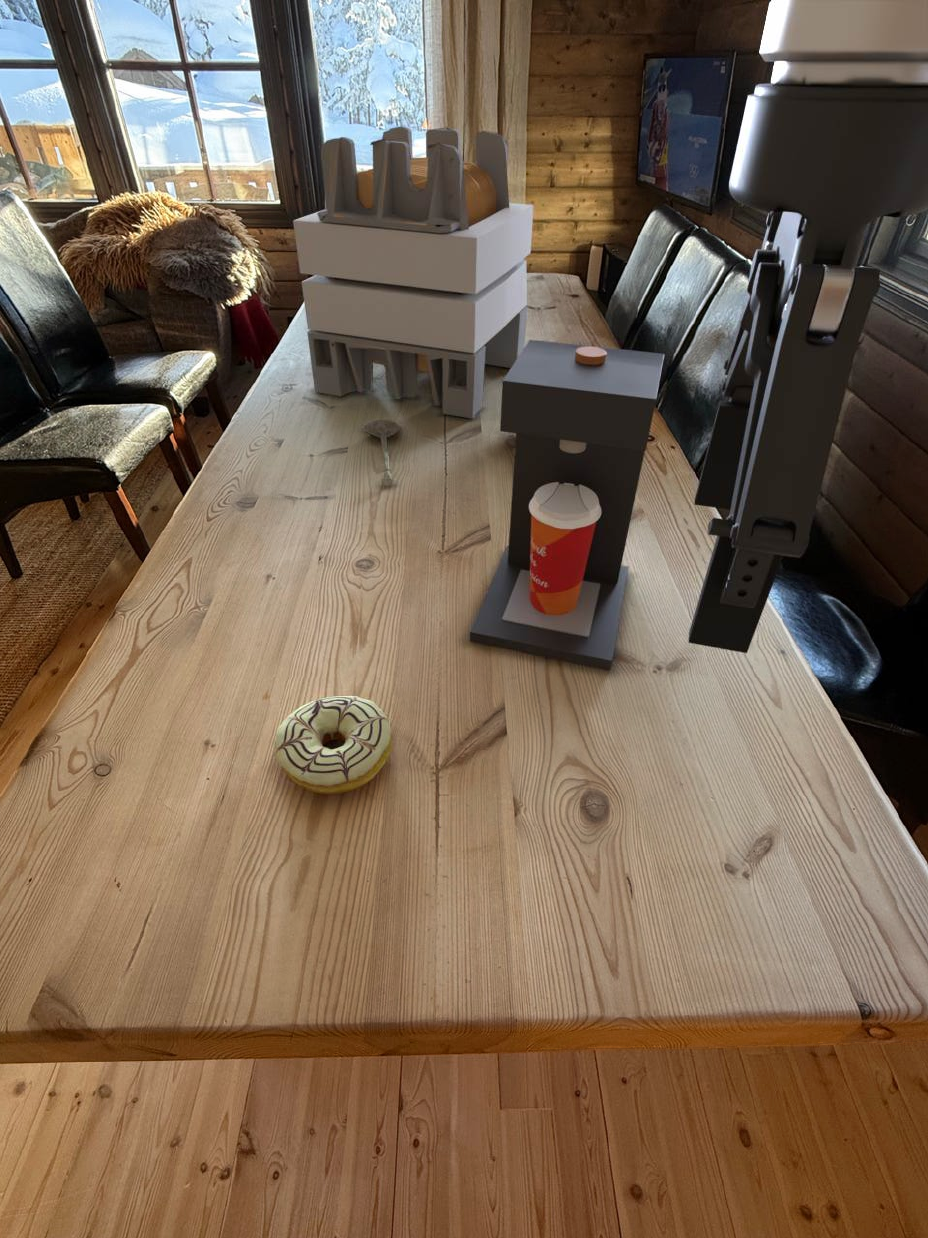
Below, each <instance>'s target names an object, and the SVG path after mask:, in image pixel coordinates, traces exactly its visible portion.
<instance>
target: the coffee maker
mask: <svg viewBox="0 0 928 1238" xmlns="http://www.w3.org/2000/svg"><path fill="white" fill-rule="evenodd" d="M664 359H665V353H657V352H649V351H639V350H630V349H621V348H610V347H604V346H603V347H601V346H594V345H593V346H592V345H583V344H574V343H573V344H572V343H563V342H554V341H545V340H537V339H536V340H535V339H529V340H528V341H527V343H526V344H525V345H524V349H523V351H522V352H521V354H520V355H519V357H518V358H517V360H516V361H515V363H514V364H513V366H512V367H511V368H509V371H508V372H507V373H506V375H505V376H504V377H503V379H502V381H501V401H500V402H501V405H500V424H499V432H502V433H509V434H512V433H516V437H515V442H514V443H515V444H514V459H513V461H514V462H513V474H512V489H511V490H512V491H511V505H510V507H511V508H510V520H509V533H508V534H509V535H508V536H509V537H508V545H506V547H505V550H504V552H503V554H502V556H501V558H500V561H499V563H498V565H497V568H496V570H495V572H494V575H493V577H492V580H491V582H490V585H489V586H488V589H487V591H486V594H485V596H484V599H483V601H482V602H481V604H480V607H479V610H478V612H477V614H476V617H475V620H474V622H473V625H472V626H471V628H470V631H469V643H475V644H480V645H485V646H489V647H495V648H498V649H503V650H508V651H509V650H510V651H513V652H518V653H522V654H529V655H533V656H538V657H543V658H547V659H551V660H552V659H553V660H557V661H562V662H567V663H572V664H578V665H580V666H587V667H590V668H595V669H599V670H600V669H601V670H605V671H611V668H612V666H613V665H612V664H613V660H614V653H615V649H616V642H617V637H618V631H619V625H620V620H621V613H622V610H623V609H622V608H623V603H624V597H625V590H626V585H627V580H628V573H629V568H630V567H629V566H628V565H624V564H622V563H623V559H624V554H625V548H626V544H627V540H628V535H629V530H630V526H631V525H630V524H631V521H632V520H631V519H632V515H633V510H634V505H635V501H636V496H637V492H638V486H639V481H640V477H641V473H642V472H641V471H642V466H643V462H644V457H645V452H646V451H647V446H648V442H649V437H650V432H651V428H652V422H653V418H654V414H655V413H654V412H655V408H656V403H657V398H658V393H659V392H658V391H659V387H660V381H661V377H662V376H661V375H662V369H663V365H664ZM554 482H559V484H564V483H570V484H574V486H578V488H579V484H580V485H583V486H585V487H587V488H589V489H591V490H592V491H593V492H594V493H595V494H596V495H597V497H598V500H599V505H600V507H601V516H600V518H599V519H598V520H597V521H596V525H595V530H594V534H593V538H592V542H591V547H590V551H589V555H588V559H587V564H586V568H585V572H584V576H583V580H582V584H581V589H580V593H579V596H578V600H577V603H576V606H575V608H574V609H573V610H572V611H571V612H569V613H567V614H563V615H548V614H544V613H542V612H540V611H538V610H536V609H535V608H534V607H533V606H532V604H531V602H530V552H531V513H530V510H529V503H530V501H531V499H532V498H533V497H534V494H535V492H536V491H537V490H538V489H539V488H540V487H542V486H544V485H546V484H549V483H554Z"/></svg>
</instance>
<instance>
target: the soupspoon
mask: <svg viewBox="0 0 928 1238" xmlns="http://www.w3.org/2000/svg"><path fill="white" fill-rule="evenodd" d="M401 428H402V427H401V424H399V423H397V422H396V421H393V420H389V419H376V420H373V421H370V422H368V423H367V424H365V425H363V427H362V430H363V431H364V432H367V433H369V434H370V435H373V436H375V437H377V438H379V439H380V443H381V449H382V454H383V461H384V463H383V464H384V470H383V472H384V474H383V478H382V479H381V484H382V485H383V486H385V487H389V486H392V485H393V484H394V479H393V478H392V476H391V470H390V469H391V468H390V459H389V451H388V450H389V449H388V439H387V438H389V437H392V436H393V435H394V434H396V433H397V432H399V431H400V430H401Z"/></svg>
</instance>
